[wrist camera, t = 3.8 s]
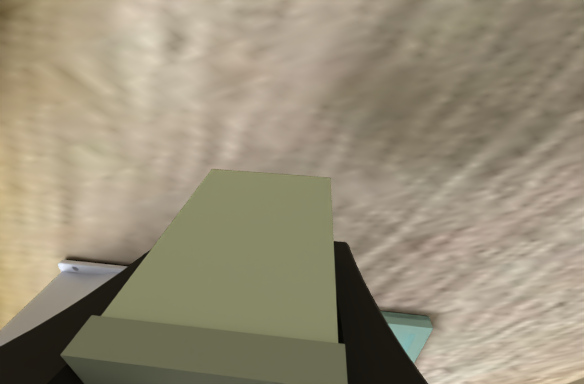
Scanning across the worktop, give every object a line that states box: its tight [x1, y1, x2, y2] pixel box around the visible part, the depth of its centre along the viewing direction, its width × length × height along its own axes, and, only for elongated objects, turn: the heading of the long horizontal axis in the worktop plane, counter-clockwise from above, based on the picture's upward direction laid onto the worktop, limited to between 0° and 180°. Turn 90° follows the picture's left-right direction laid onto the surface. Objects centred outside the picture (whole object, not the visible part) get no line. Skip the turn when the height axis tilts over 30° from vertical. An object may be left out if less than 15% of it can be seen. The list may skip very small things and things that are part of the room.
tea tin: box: [61, 169, 348, 384], centre depth 8 cm, size 5×5×7 cm
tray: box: [381, 311, 433, 363], centre depth 24 cm, size 11×11×1 cm
